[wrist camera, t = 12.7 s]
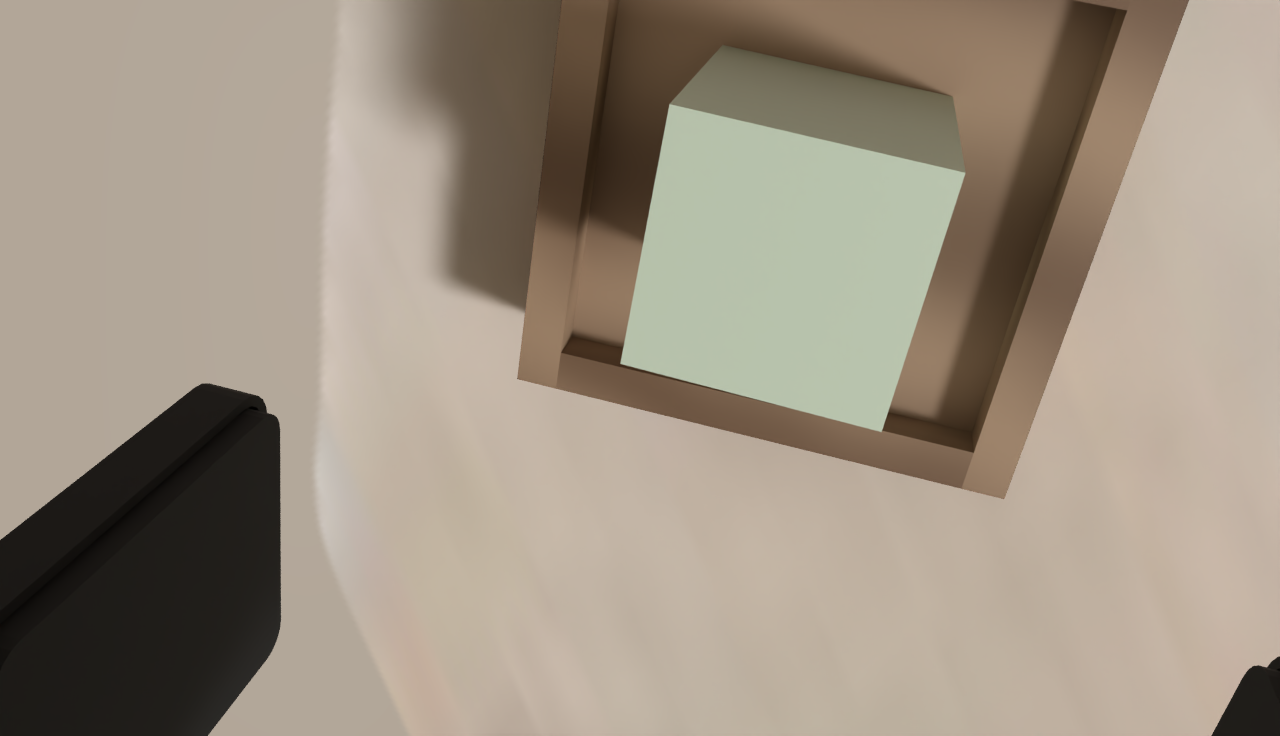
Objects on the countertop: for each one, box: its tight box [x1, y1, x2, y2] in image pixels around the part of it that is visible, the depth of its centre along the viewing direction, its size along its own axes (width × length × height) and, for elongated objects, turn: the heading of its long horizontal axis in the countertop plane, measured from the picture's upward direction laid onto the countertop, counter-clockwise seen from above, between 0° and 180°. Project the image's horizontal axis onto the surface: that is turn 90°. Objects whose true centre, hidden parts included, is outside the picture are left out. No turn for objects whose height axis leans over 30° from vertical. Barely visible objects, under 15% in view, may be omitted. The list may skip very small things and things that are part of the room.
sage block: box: [620, 45, 966, 432], centre depth 22 cm, size 5×5×6 cm
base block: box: [517, 0, 1189, 499], centre depth 26 cm, size 12×12×4 cm
